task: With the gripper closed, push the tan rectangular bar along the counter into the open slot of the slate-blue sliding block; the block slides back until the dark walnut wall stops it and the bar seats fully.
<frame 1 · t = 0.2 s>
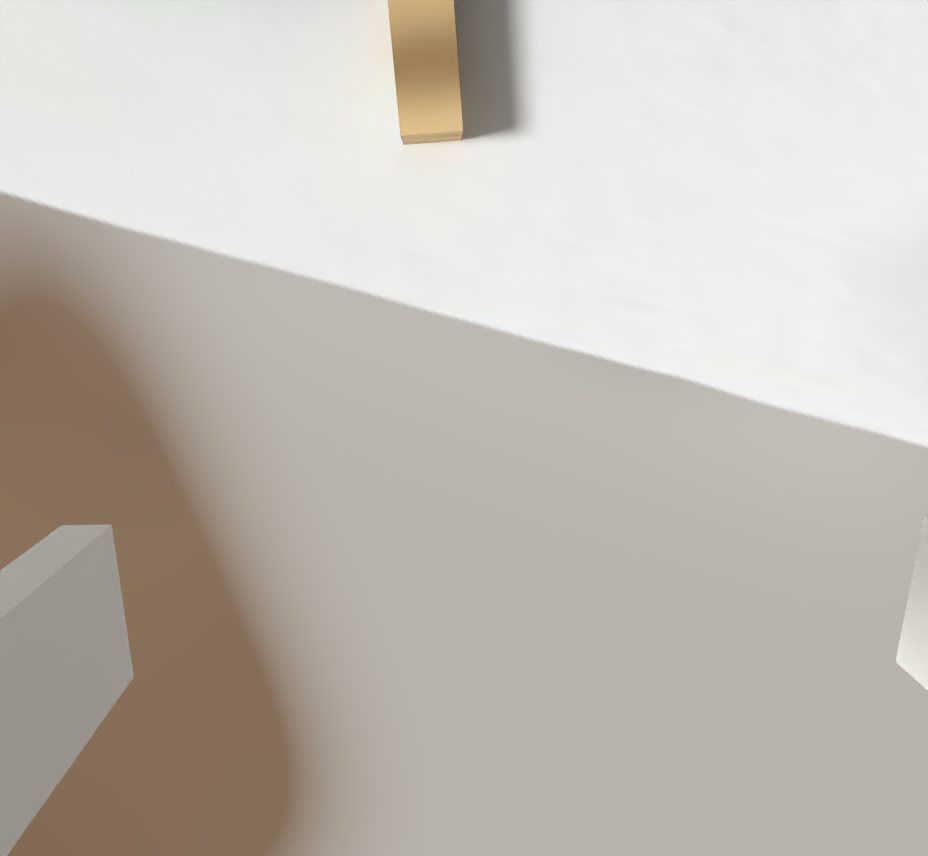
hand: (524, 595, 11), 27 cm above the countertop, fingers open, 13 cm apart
tan rectangular bar: (426, 69, 34), on the countertop
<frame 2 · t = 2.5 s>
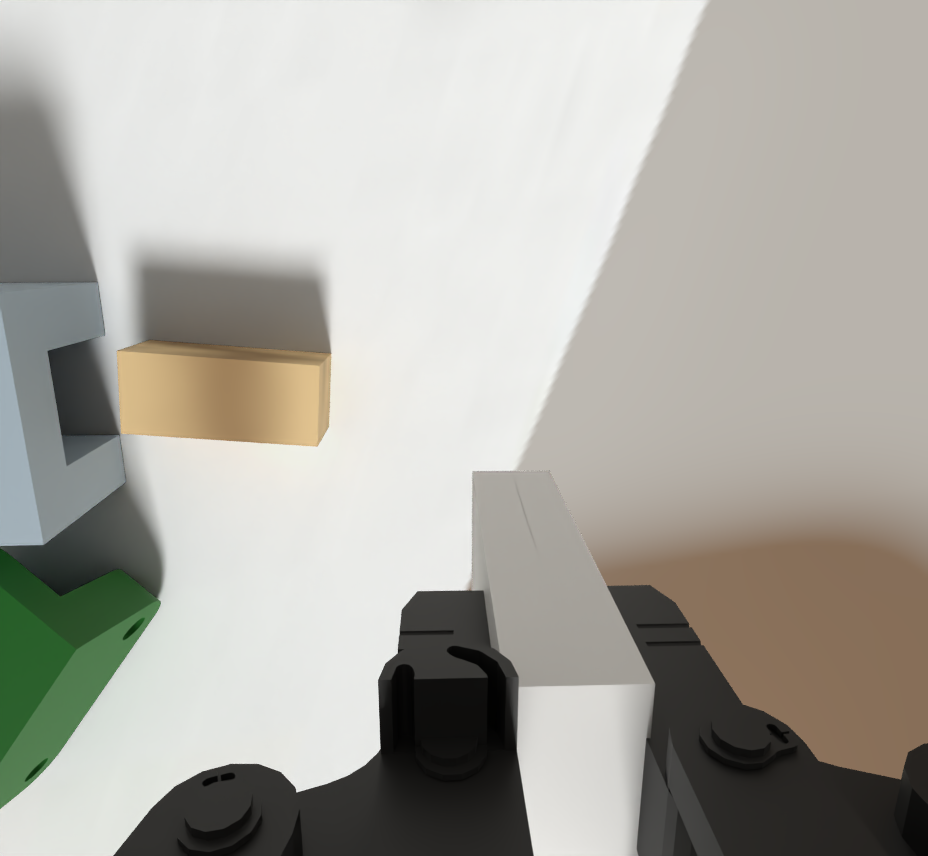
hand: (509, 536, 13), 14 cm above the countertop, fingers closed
clamp: (40, 634, 29), on the countertop
tan rectangular bar: (242, 383, 27), on the countertop
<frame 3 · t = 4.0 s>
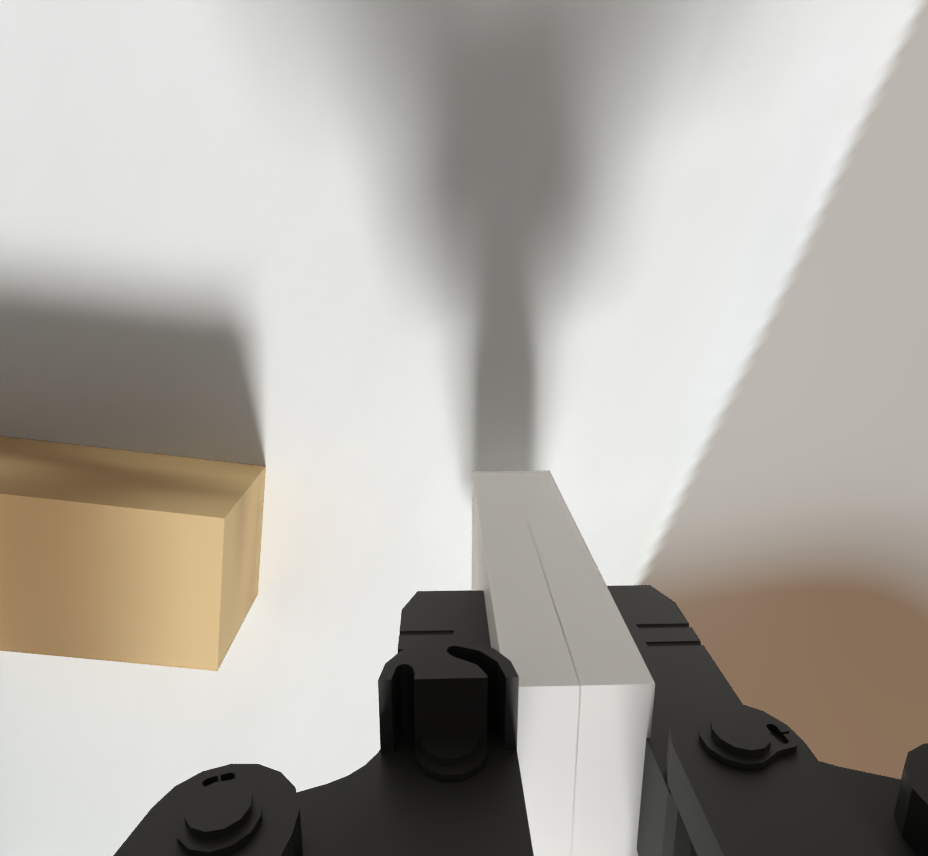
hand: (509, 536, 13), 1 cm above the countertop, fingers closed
tan rectangular bar: (99, 510, 14), on the countertop
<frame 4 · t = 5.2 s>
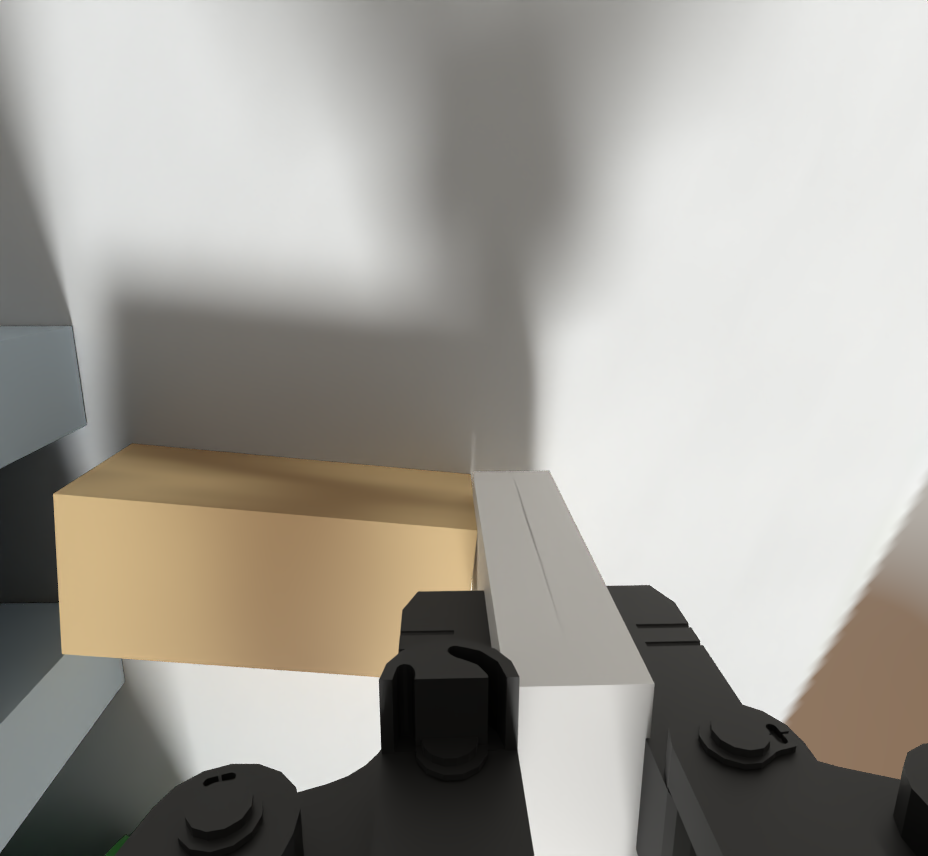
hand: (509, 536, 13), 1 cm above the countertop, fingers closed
tan rectangular bar: (301, 523, 14), on the countertop, touching gripper
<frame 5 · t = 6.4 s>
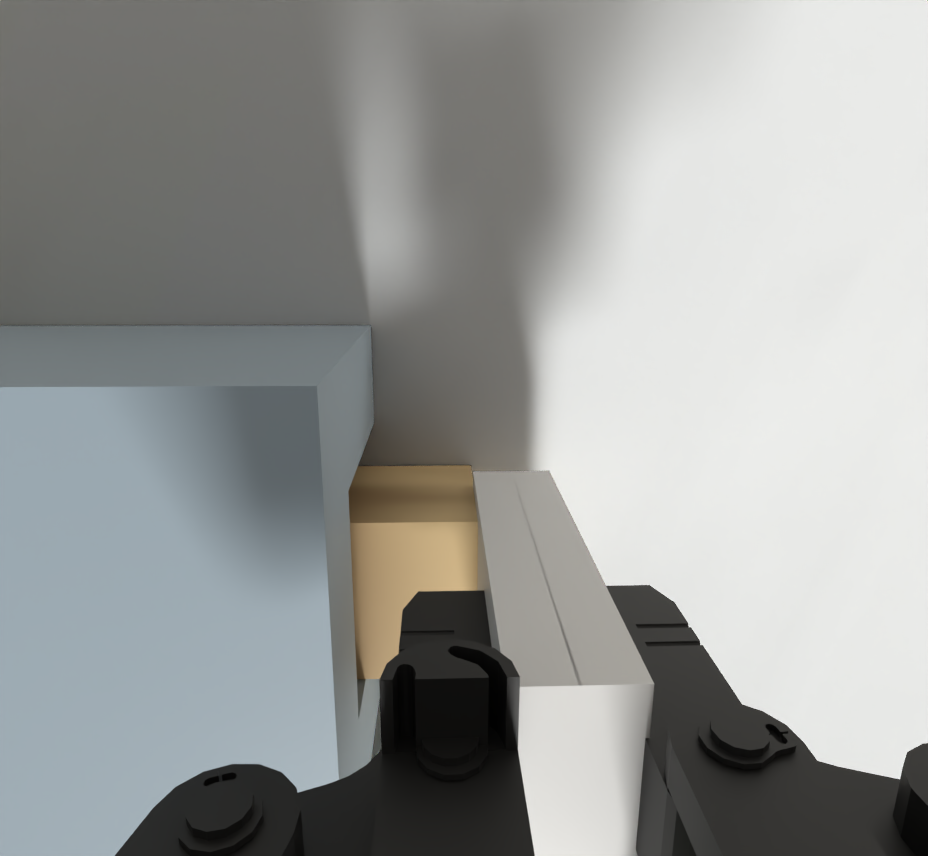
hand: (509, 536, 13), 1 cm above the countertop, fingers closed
block: (123, 583, 11), point 3 cm above the countertop, slide at 0.8 cm, touching tan rectangular bar
tan rectangular bar: (307, 532, 14), on the countertop, touching block, gripper
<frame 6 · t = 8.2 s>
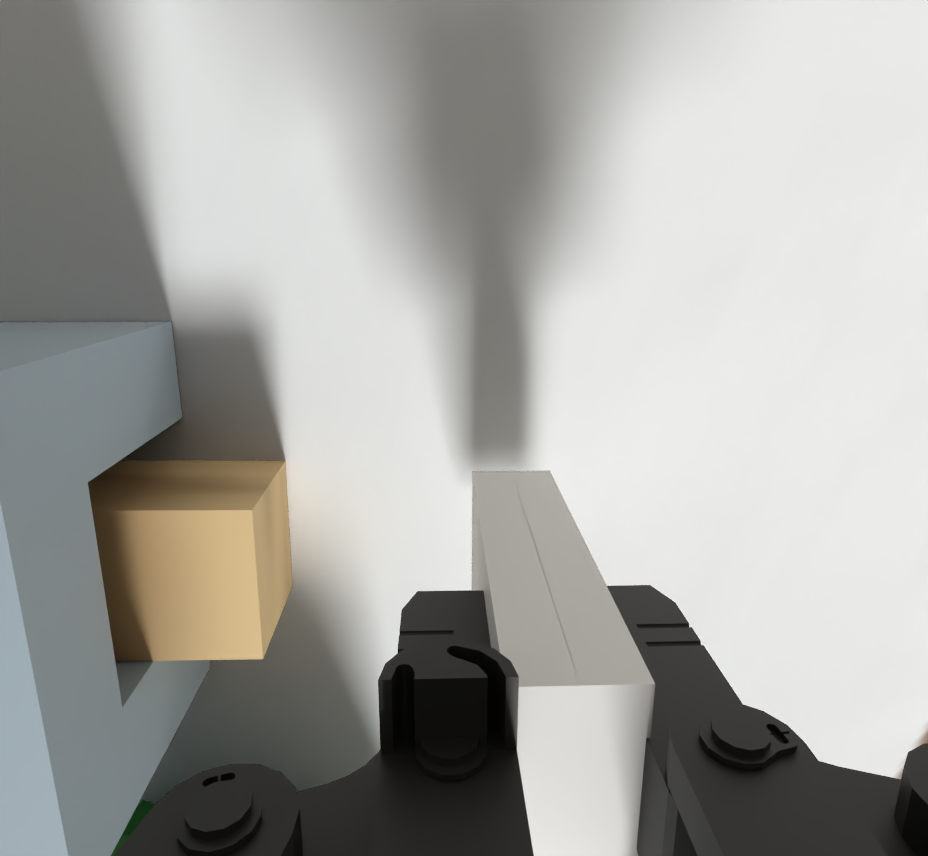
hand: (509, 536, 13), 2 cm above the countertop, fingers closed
tan rectangular bar: (131, 521, 15), on the countertop
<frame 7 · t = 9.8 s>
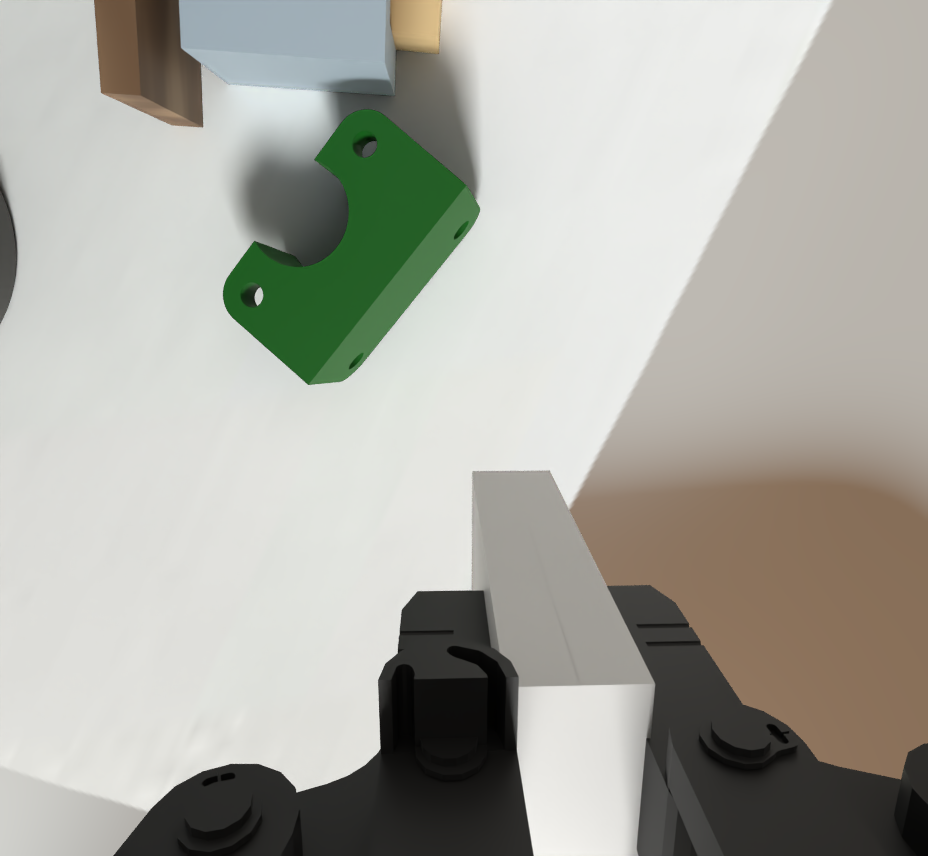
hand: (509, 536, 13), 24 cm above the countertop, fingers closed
clamp: (360, 253, 35), on the countertop
tan rectangular bar: (367, 13, 32), on the countertop
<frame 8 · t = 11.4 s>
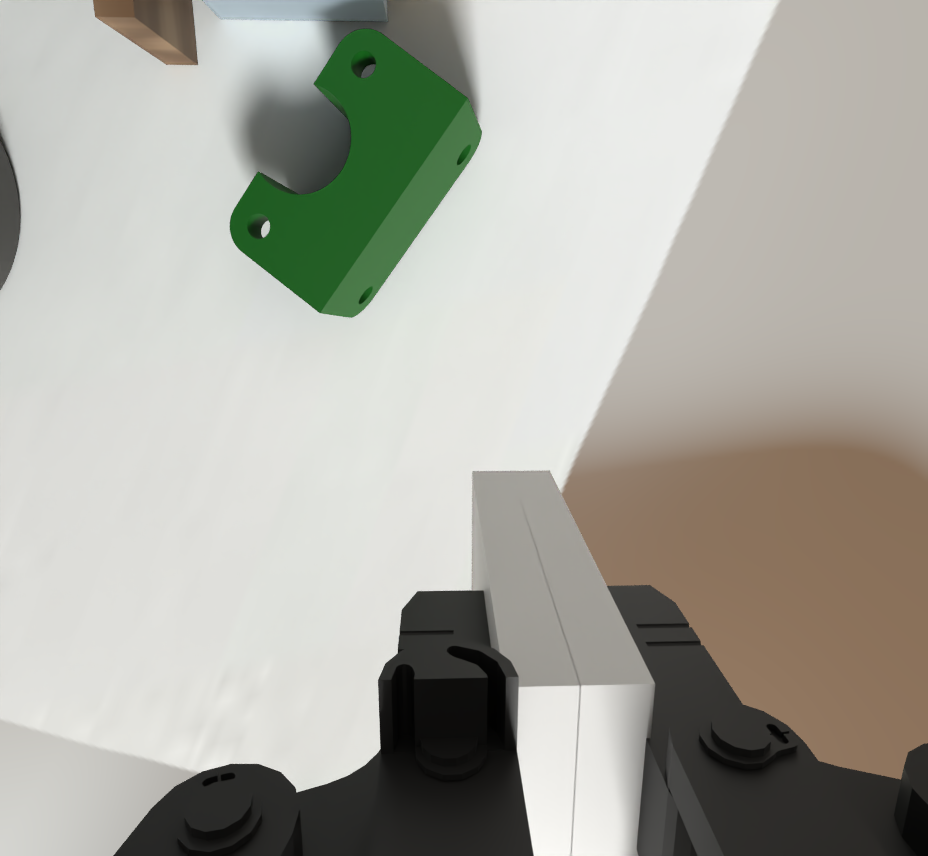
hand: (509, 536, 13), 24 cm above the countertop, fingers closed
clamp: (364, 188, 35), on the countertop
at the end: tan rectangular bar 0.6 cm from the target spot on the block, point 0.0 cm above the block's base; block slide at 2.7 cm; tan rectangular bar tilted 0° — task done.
